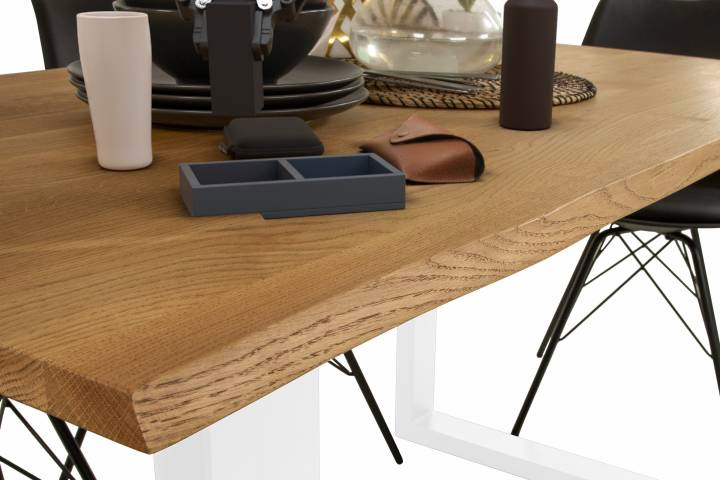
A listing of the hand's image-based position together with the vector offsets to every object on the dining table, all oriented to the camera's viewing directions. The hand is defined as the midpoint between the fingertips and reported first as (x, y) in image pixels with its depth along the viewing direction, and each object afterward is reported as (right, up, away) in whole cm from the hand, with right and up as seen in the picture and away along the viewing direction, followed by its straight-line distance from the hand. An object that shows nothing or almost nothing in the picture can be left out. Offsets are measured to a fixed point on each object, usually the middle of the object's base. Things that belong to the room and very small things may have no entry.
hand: (231, 53), depth 83 cm
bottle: (+28, +2, +47) cm, 54 cm away
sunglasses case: (+14, -6, +24) cm, 29 cm away
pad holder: (+4, -11, +8) cm, 14 cm away
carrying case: (-2, -5, +27) cm, 27 cm away
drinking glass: (-15, -7, +20) cm, 26 cm away
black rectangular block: (0, -4, +4) cm, 5 cm away
